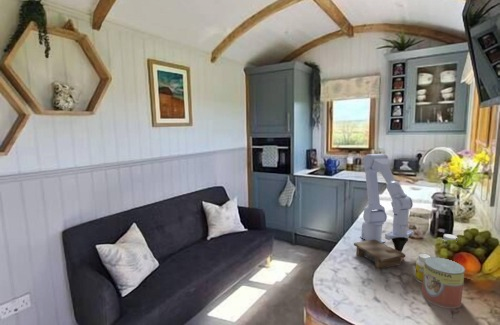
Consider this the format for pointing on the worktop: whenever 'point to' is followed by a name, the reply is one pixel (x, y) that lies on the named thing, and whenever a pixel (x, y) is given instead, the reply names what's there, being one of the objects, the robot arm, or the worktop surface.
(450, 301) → the canned food
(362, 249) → the overhang
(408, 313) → the worktop surface
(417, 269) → the supplement bottle
